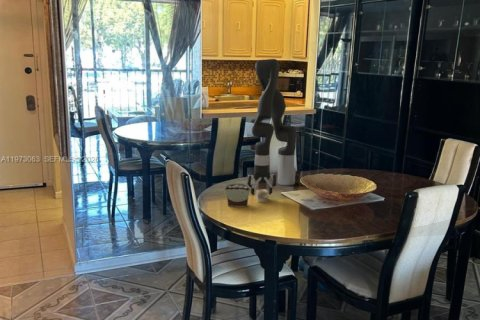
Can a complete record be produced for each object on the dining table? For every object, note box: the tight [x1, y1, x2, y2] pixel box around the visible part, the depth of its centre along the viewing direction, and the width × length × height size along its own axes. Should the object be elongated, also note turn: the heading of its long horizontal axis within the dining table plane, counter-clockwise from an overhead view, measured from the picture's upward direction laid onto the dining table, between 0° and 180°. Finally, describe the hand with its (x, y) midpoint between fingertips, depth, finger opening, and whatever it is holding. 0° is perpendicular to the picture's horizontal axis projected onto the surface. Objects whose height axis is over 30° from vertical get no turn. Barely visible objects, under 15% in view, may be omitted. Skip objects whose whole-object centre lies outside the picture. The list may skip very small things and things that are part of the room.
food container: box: [224, 182, 251, 208], centre depth 217 cm, size 12×6×10 cm, turn 84°
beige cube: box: [255, 188, 269, 203], centre depth 223 cm, size 5×5×5 cm
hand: (261, 194), depth 223 cm, fingers open, 8 cm apart
